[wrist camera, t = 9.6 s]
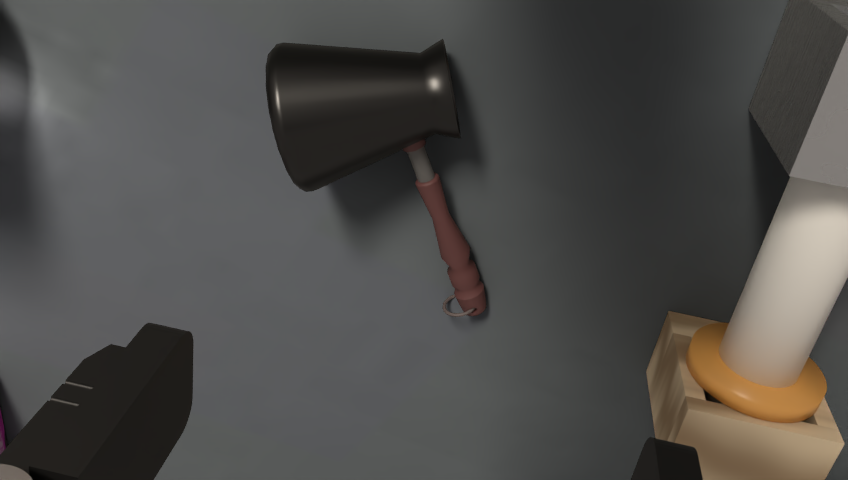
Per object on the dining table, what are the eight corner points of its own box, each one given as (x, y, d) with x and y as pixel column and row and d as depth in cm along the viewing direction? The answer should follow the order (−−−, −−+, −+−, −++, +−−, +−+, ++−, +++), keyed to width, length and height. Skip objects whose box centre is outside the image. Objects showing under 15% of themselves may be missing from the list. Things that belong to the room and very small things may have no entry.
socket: (668, 310, 46) (688, 408, 39) (798, 338, 46) (844, 443, 38) (646, 371, 49) (660, 475, 41) (770, 398, 48) (808, 509, 41)
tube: (787, 39, 37) (829, 83, 31) (937, 68, 37) (1008, 118, 31) (666, 356, 46) (681, 436, 40) (786, 382, 46) (818, 467, 40)
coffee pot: (275, 24, 42) (435, -9, 41) (356, 291, 52) (487, 269, 51) (252, 81, 36) (441, 45, 35) (349, 373, 46) (498, 349, 45)
